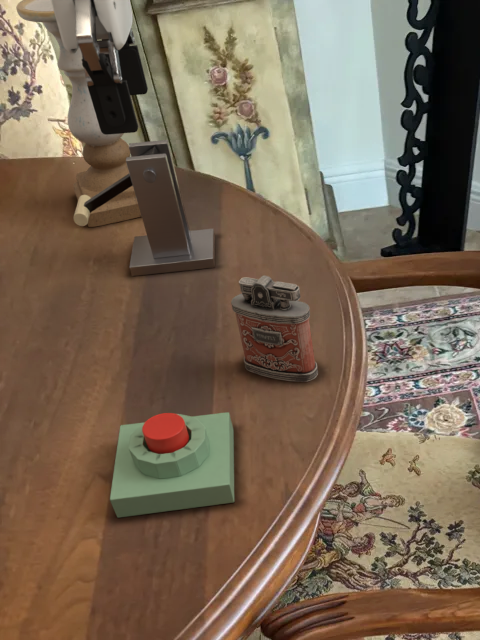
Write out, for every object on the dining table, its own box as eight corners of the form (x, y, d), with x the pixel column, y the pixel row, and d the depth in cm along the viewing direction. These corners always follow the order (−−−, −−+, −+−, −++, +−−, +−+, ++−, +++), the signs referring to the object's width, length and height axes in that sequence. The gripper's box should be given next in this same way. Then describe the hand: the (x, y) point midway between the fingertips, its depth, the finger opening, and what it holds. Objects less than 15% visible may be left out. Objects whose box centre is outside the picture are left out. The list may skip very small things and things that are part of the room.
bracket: (132, 276, 95) (98, 168, 86) (136, 245, 100) (105, 140, 91) (214, 267, 96) (190, 159, 86) (215, 237, 101) (192, 132, 92)
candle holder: (88, 228, 104) (16, 19, 86) (76, 196, 111) (7, -4, 93) (169, 210, 107) (116, 4, 89) (152, 180, 114) (100, -17, 96)
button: (146, 457, 67) (140, 441, 66) (148, 430, 69) (143, 415, 68) (188, 452, 67) (183, 436, 66) (189, 425, 70) (185, 410, 68)
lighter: (239, 371, 81) (219, 282, 74) (254, 353, 83) (236, 265, 76) (309, 385, 79) (296, 296, 72) (323, 366, 81) (311, 277, 74)
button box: (117, 518, 67) (102, 484, 64) (126, 443, 74) (114, 409, 71) (234, 502, 68) (225, 468, 65) (233, 430, 75) (225, 396, 72)
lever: (83, 231, 92) (67, 214, 90) (87, 212, 95) (73, 195, 93) (167, 178, 89) (152, 159, 87) (169, 160, 92) (155, 141, 91)
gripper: (32, -142, 65) (97, 84, 78) (-15, -107, 54) (71, 152, 66) (123, -147, 66) (173, 78, 79) (96, -114, 54) (160, 145, 67)
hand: (126, 112), depth 72 cm, fingers open, 9 cm apart
